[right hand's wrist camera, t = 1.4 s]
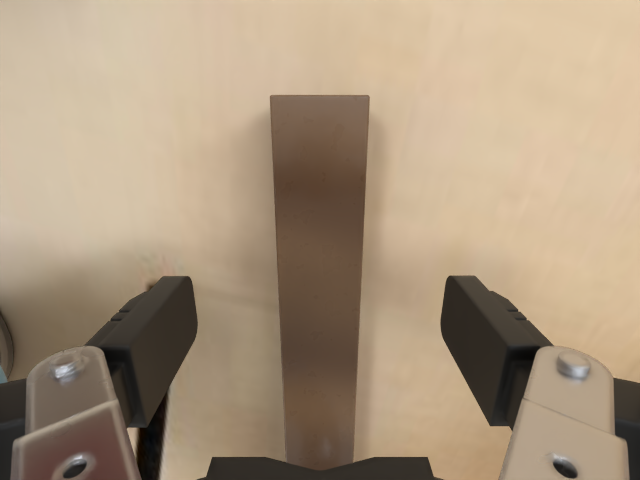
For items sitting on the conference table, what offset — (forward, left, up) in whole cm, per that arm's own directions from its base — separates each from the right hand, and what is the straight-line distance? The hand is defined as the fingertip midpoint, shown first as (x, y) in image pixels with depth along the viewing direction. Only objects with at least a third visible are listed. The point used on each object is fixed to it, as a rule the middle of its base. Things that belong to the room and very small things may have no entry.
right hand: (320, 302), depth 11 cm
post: (+3, +28, -15) cm, 32 cm away
